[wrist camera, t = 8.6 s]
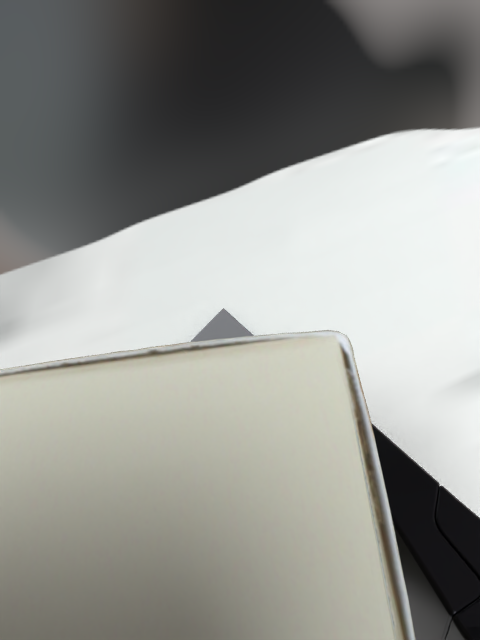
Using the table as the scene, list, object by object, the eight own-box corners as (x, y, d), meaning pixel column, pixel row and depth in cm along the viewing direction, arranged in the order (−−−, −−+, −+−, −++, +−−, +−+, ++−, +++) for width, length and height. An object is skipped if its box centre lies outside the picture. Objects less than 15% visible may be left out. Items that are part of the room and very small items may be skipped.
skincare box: (303, 391, 15) (382, 311, 4) (318, 495, 14) (512, 862, 2) (168, 406, 16) (-135, 375, 4) (171, 508, 15) (-248, 865, 3)
